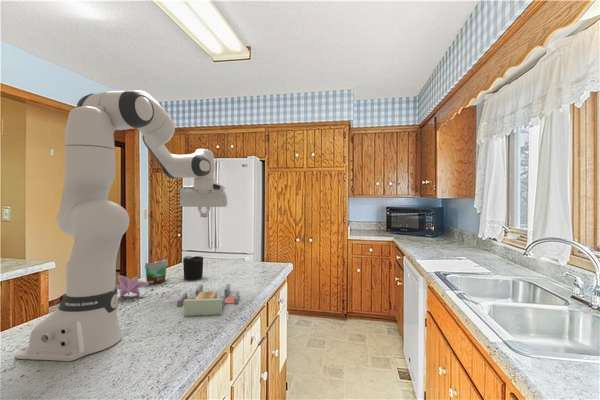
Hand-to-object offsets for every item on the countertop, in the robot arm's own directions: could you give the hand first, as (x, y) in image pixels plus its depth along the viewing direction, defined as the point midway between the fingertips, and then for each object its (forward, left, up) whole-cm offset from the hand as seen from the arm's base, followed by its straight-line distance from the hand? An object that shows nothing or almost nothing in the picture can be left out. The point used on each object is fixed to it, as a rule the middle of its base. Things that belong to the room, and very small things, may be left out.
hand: (204, 217), depth 133 cm
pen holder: (-8, +16, -32) cm, 36 cm away
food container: (-22, +10, -32) cm, 40 cm away
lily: (-26, -12, -32) cm, 43 cm away
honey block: (+6, -27, -31) cm, 42 cm away
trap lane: (+6, -20, -31) cm, 38 cm away
